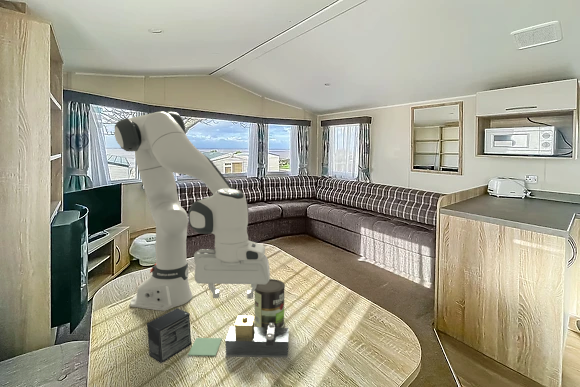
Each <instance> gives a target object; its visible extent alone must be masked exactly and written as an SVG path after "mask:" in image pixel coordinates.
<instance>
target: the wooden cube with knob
mask: <svg viewBox="0 0 580 387" xmlns="http://www.w3.org/2000/svg"><path fill="white" fill-rule="evenodd" d="M234 327H235V338H252V337H253V332H254V327H255V315H237V318H236V321H235V323H234Z"/></svg>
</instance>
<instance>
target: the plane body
mask: <svg viewBox="0 0 580 387" xmlns="http://www.w3.org/2000/svg"><path fill="white" fill-rule="evenodd" d="M267 330H268V327H255V326H254V332H253V337H252V338H235V326H230V327H229V330H228V333H227V335H226V339H225V358H262V359H263V358H265V359H266V358H267V359H268V358H269V359H273V358H274V359H288V358H289V338H290V337H289V330H290V329H289V327H283V328H279V327H275V335H274V345H273V346H266V335H267Z"/></svg>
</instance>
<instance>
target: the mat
mask: <svg viewBox="0 0 580 387" xmlns="http://www.w3.org/2000/svg"><path fill="white" fill-rule="evenodd" d="M222 339H223V338H222V337H196V338H195V340H194V342H193V343H192V344H191V348H190V349H189V351H188V354H187V356H188V357H193V356H194V357H216V355H217V353H218V350H219V349H220V346H221V343H222V341H223V340H222Z"/></svg>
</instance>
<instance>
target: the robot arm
mask: <svg viewBox="0 0 580 387" xmlns="http://www.w3.org/2000/svg"><path fill="white" fill-rule="evenodd" d="M114 138H115V141H116V142H117V144H118V145H119V147H120V148H121V149H122V150H124V151H126V152H134V156H135V162H136V166H137V170H138V173H139V176H140V179H141V182H142V186H143V189H144V192H145V197H146V201H147V203H148V207H149V211H150V214H151V218H152V220H153V222H154V225H155V247H154V248H155V263H154V265H153V266H151V268H150V269H149V271H150V272H149V274H150V276H148V277H147V278H146V279H144V281H142V282H141V283H140V284H139V286H138V287H137V290H136V294H135V295H133V297H132V299H131V300H130V304H129V305H130V307H131V308H132V307H133V308H138V309H139V308H140V309H145V310H146V309H147V310H154V311H163V312H164V311H165V312H166V311H169V310H170V309H172V308H175V307H176V308H177V307H179V306H183V305H184V304H186V303H189V302H190V301H191V300H192V298H193V293H192V290H191V287H190V282H189V263H188V260H187V238H188V237H187V236H188V235H187V234H188V225H189V226H190V228H191V229H192V230H193V231H195V232H196V233H198V234H201V235H202V234H203V235H208V234H209V235H210V234H213V235H214V248H207V249H204V248H199V249H198V250H196V251H195V252H194V254H193V261H194V264H195V267H194V281H195V282H196V284H202V285H203V284H204V285H206V284H208V285H207V287H208V289H209V290H210V292H211V293H212V299H219V298H220V296H221V295H220V289H218V288H216V286H215V285H216V284H217V285H218V284H219V285H222V284H223V285H250V287H251V289H250V290H249V289H248V290H247V292H246V296H247V297H246V298H247V299H251V300H253V299H254V293H255V289H256V287H257V284H267V283H268V282H269V279H271V278H270V277H271V272H270V264H269V259H268V257H267V255H265V254H266V246H265V245H263V244H261V243H259V242H254V241H251V240H249V234H248V231H247V230H248V225H249V205H248V202H247V198H246V196H245V193H243V192H242V191H241V190H239V189H235V188H233V187H232V185H231V184H230V182H228V180H227V179H226V178H225V176H224V174H222V173H221V171H220V170H219V168H218V167H217V166H216V165H215V163H214V162H213V161H212V160H211V159H210V158H209V157H208V156H207V155H205V154H204V153H203V152H201V151H200V150H199V149H198V148H197V147H196V146H195V145H194V144H193V143H192V142H191V140H190V139H189V138H188V136H187V135H186V125H185V121H184V120H183V117H182V116H181V115H180V114H179V113H178V112H175V111H156V112H151V113H147V114H143V115H138V116H134V117H130V118H127V117H126V118H122V119H120V120H118V121H117V122H116V123H115V125H114ZM174 173H175V174H179V175H187V176H189V177H193V178H196V179H198V180H199V181H201V182H203V184H205V185H206V186H207V188H208V189H209V191H210V193H212V195H211V196H209V197H205V198H201V199H200V200H196V201H194V202H193V203H192V204H191V206H190V207H189V210H188V213H187V211H186V210H185V208H183V207H182V206H181V204H180V200H179V195H178V190H177V188H178V187H177V182H176V179H175V176H174Z"/></svg>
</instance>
